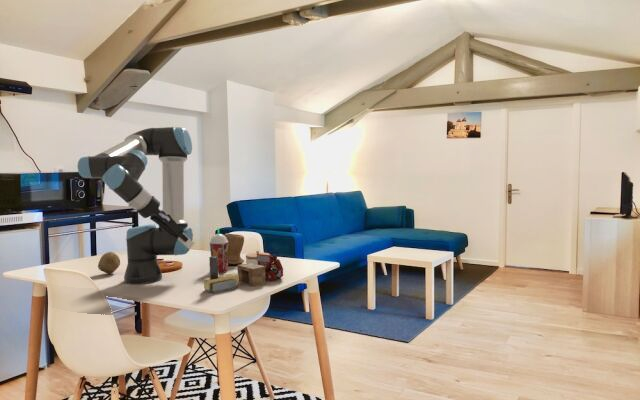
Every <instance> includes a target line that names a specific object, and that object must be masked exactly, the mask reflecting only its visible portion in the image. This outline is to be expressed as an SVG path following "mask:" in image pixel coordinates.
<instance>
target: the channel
mask: <svg viewBox="0 0 640 400" xmlns="http://www.w3.org/2000/svg"><path fill="white" fill-rule="evenodd" d="M237 285H238V284H237V283H236V279H233V280H228V281H223V282H218V283H213V284H212V289H211V290H208V289H205V288H204V291H206V292H208V293H211V294H219V293H222V292H227V291H232V290H237V289H238V287H237Z"/></svg>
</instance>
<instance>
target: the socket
mask: <svg viewBox="0 0 640 400" xmlns="http://www.w3.org/2000/svg"><path fill="white" fill-rule="evenodd" d="M236 265H237V274H239V284H245V283H248V286H250V287H257V286H262V285H263V286H264V285H266V281H267V279H266V277H265V266H261V265H256V264H252V263H240V264H236Z"/></svg>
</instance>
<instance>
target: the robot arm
mask: <svg viewBox="0 0 640 400" xmlns="http://www.w3.org/2000/svg"><path fill="white" fill-rule="evenodd" d="M192 142H193V141H192V138H191V135H190V133H189V131H188V130H187V129H186V128H184V127H180V126H179V127H176V126H169V127H150V128H149V127H148V128H145V129H142V130H139V131H137V132H134V133H131V134H130V135H128V136H126V137H125V138H124V141H122V142H119V143H118V144H116V145H114V146H112V147H110V148H108V149H107V150H104V151H102V152H100V153H98V154H96V155H93V156H89V155H87V156H82V157H80V158H79V160H78V161H77V171H78V174H79V176H81V178H83V179H102V182H103V183H104V184H105V185H106V186H107V187H108V188H109V189H110V190H112V191H113V192H114V194H116V195H117V196H119V197H120V198H121V199H122V200H124V202H126V204H128V205H127V206H128V207H129V208H131V209H133V210H134V211H136V212H137V214H138V215H140V216H141V217H142V218H143V219H148V218H149V219H150V220H151V221H152V222H154V223H153V224H152V223H151V224H145V225H139V226H135V227H129V228H128V229H127V230H126V236H125V237H126V238H125V240H126V253H127V254H126V255H127V266H126V269H125V272H124V277H123V281H124V283H125V282H126V283H125V284H128V283H130V284H131V285H140V284H142V285H143V284H149V283H155V282H159V281H160V280H162V279H163V273H162V269H161V267H160V265H159V263H158V256H179V255H180V256H182V255H186V254H188V252H189V251H190V249H192V247H193V246H194V245H195V242H194V241H193V239H194V236H193V235H194V233H193V229H192V228H191V227H190V226H188V224H189V223H188V221H186V220H185V192H184V191H185V184H184V183H185V182H184V179H185V178H184V177H185V176H184V174H185V172H184V171H185V170H184V163H185V162H186V161H187V160H188V156H189V155H191V154H192V151H193V143H192ZM147 156H158V160H159V161H160V162H161V163H162V169H161V170H162V172H161V173H162V174H161V175H162V210H160V206H161V202H160V200H158V199H157V197H155V196H154V195H152V193H151V191H149V190H147V189H146V187H144V186H143V185H142V184H141V183H140V182H139V179H140V178H141V176H142V174H143V173H144V171H145V169H146V167H147V165H148V157H147ZM156 225H158V227H157V226H156Z"/></svg>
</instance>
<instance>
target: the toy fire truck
mask: <svg viewBox="0 0 640 400" xmlns="http://www.w3.org/2000/svg"><path fill="white" fill-rule="evenodd" d="M257 261H258V265H261V266H265V280H266V281H268V282H273V281H275V280H276V279H277V280H279V279H281V278H283V277H284V267H283V265H282V263H281V261H280V259H279V258H278V256H277V255H276V254H273V255H271V254H270V255H265V254H258V255H257Z"/></svg>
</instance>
